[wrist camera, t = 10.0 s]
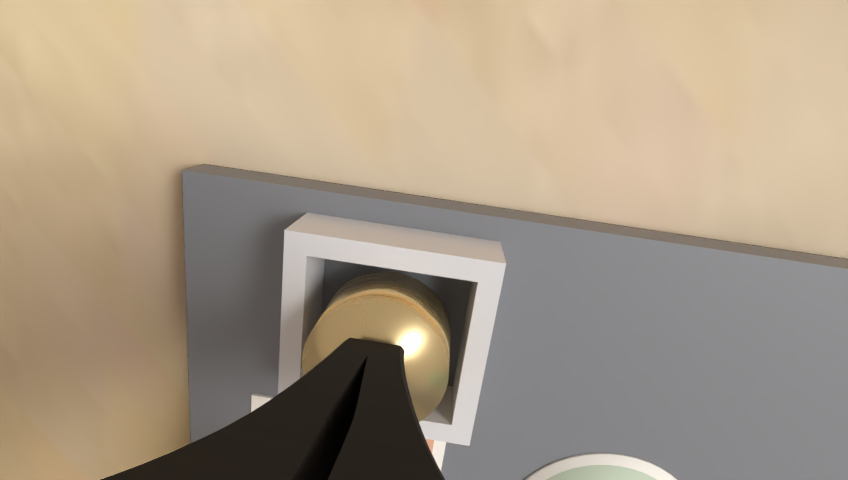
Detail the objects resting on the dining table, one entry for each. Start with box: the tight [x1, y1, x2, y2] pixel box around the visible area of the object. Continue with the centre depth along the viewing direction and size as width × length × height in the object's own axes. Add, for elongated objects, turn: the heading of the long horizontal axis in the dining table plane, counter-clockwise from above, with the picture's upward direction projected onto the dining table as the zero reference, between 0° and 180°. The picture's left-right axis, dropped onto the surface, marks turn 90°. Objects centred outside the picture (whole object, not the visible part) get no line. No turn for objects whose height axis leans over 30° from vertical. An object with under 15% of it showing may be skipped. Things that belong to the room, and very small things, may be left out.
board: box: [182, 164, 848, 480], centre depth 15 cm, size 14×25×3 cm, turn 82°
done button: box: [302, 271, 451, 422], centre depth 12 cm, size 4×4×2 cm
